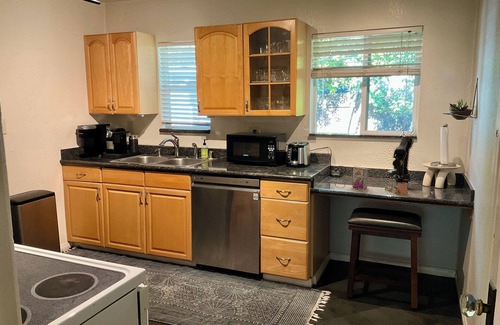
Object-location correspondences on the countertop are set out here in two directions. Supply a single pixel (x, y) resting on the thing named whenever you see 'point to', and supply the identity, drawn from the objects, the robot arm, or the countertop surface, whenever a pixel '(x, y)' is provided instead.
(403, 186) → the terracotta block
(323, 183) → the countertop surface
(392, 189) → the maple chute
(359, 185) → the candy bar box
